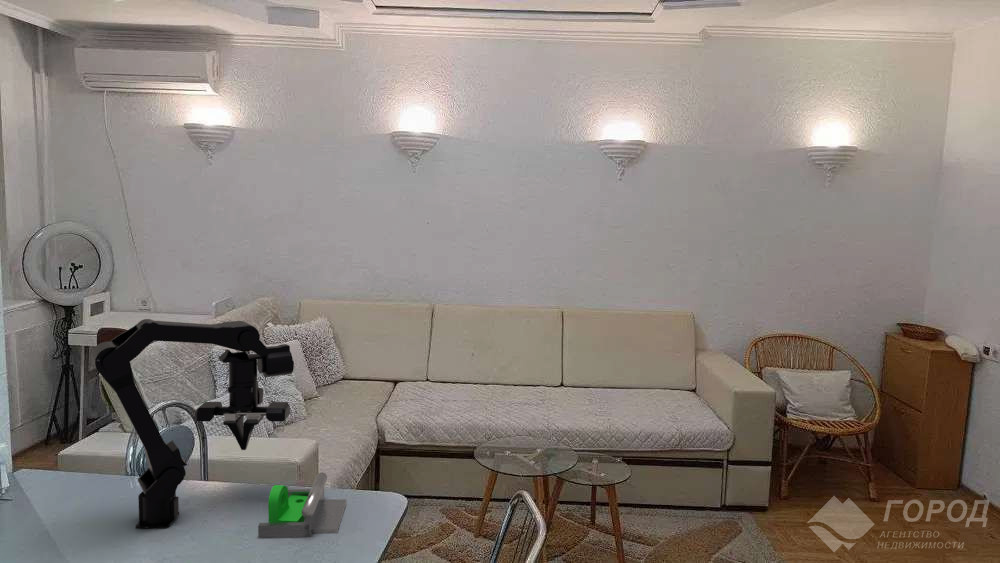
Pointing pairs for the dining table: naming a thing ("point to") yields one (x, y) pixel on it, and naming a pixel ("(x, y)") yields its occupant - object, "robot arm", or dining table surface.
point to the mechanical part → (285, 506)
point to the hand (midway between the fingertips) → (244, 449)
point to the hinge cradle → (309, 514)
